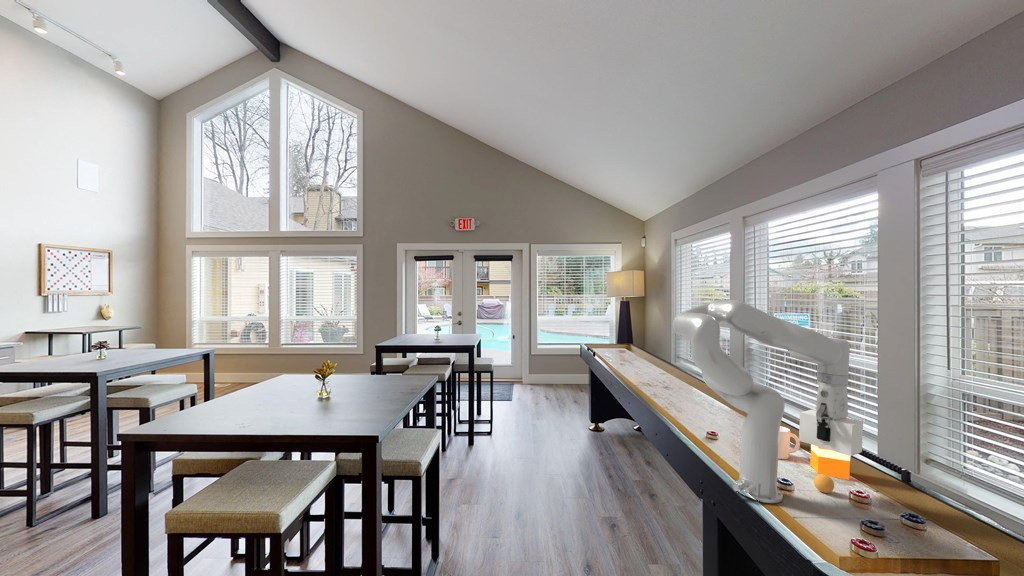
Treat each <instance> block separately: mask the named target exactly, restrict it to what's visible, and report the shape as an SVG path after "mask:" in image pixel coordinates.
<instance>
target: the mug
mask: <svg viewBox="0 0 1024 576" xmlns="http://www.w3.org/2000/svg"><path fill="white" fill-rule="evenodd" d="M791 438H793V439H794V441H795V444H794V445H795V446H794V447H793V448H790V446H791ZM800 447H801V441H799V436H798V435H796V433H793V432H791V429H790V428H788V427H785V426H782V425H780V431H779V450H778V460H780V459H786V460H788V459H789V458H790V454H794V453H796V452H797V451H798V450H799V449H800Z"/></svg>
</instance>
